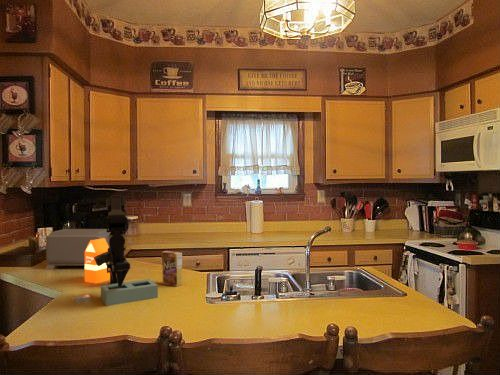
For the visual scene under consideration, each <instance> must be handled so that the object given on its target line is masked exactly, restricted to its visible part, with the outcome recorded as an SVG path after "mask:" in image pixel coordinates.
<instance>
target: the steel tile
mask: <svg viewBox="0 0 500 375" xmlns="http://www.w3.org/2000/svg"><path fill="white" fill-rule="evenodd" d="M90 301H91V296H90V294H84V295H75V296H74V302H75V304H81V302H82V303H87V302H90Z"/></svg>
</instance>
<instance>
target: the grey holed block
mask: <svg viewBox="0 0 500 375" xmlns="http://www.w3.org/2000/svg"><path fill="white" fill-rule="evenodd" d="M123 282H124V283H122V285H121V286H118V283H116V284H104V285H103V284H101V285H100V299H101V300H102V302H103V303H104V304H105V306H107V307H109V306H115V305H120V304H126V303H127V304H128V303H134V302H141V301H145V300H146V301H147V300H151V299H152V300H153V299H158V297H159V291H158V290H159V288H158V286H159V285H158V284H157V283H155V282H154V281H153V280H151V279H150V278H147V279H140V280H139V279H138V280H133V281H123ZM117 288H122V289H117ZM110 289H115V290H110Z"/></svg>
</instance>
